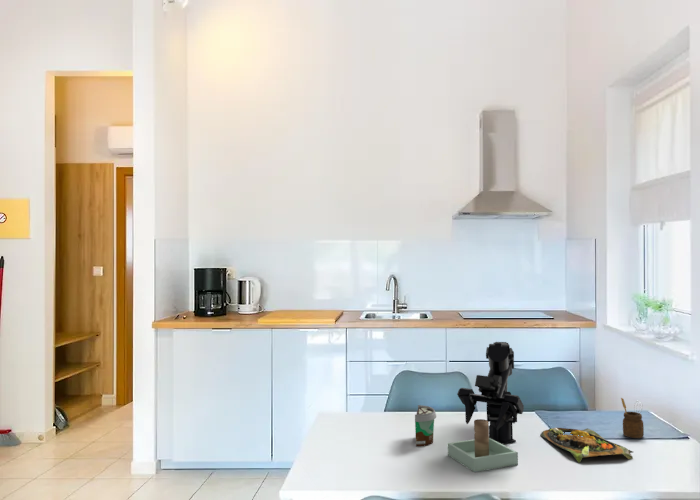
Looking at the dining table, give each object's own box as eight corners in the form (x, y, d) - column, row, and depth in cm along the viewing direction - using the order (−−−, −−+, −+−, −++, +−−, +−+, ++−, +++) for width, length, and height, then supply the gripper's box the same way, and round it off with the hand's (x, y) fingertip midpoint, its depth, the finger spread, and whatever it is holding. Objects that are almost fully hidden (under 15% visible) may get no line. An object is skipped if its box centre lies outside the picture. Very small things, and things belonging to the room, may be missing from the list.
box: (488, 449, 166) (488, 437, 166) (518, 464, 153) (517, 452, 153) (447, 455, 161) (447, 443, 161) (474, 472, 148) (474, 459, 148)
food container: (435, 449, 167) (435, 415, 167) (415, 448, 168) (414, 415, 168) (437, 436, 179) (437, 405, 179) (418, 435, 180) (418, 404, 180)
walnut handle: (484, 455, 160) (483, 418, 160) (492, 459, 156) (491, 422, 156) (472, 457, 158) (471, 420, 159) (479, 461, 155) (479, 424, 155)
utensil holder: (647, 438, 173) (646, 400, 173) (627, 438, 173) (626, 400, 174) (638, 432, 179) (637, 395, 179) (618, 433, 179) (617, 395, 179)
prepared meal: (534, 423, 181) (587, 420, 182) (535, 433, 181) (588, 430, 182) (576, 455, 153) (638, 451, 155) (576, 468, 153) (638, 464, 155)
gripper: (459, 360, 168) (442, 405, 159) (519, 367, 156) (504, 415, 148) (471, 382, 174) (455, 426, 165) (529, 390, 162) (516, 437, 154)
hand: (481, 425), depth 158 cm, fingers open, 9 cm apart
